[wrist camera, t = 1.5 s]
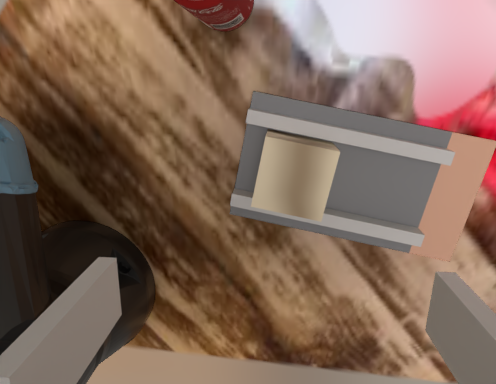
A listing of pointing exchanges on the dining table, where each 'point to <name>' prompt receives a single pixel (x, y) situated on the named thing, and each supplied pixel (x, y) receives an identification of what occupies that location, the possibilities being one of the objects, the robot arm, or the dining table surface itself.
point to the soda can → (219, 12)
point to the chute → (373, 176)
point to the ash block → (295, 175)
